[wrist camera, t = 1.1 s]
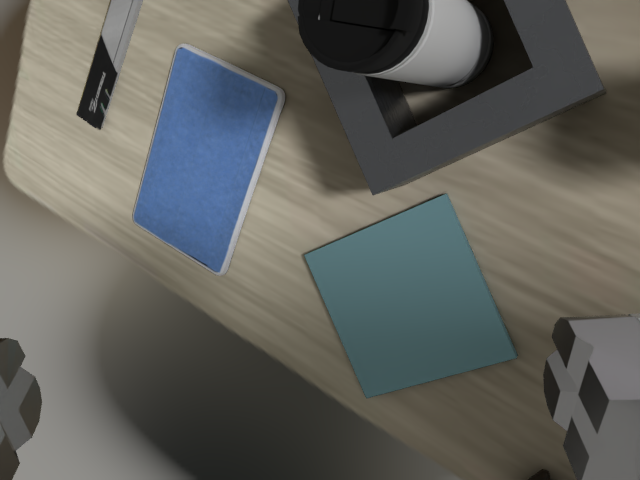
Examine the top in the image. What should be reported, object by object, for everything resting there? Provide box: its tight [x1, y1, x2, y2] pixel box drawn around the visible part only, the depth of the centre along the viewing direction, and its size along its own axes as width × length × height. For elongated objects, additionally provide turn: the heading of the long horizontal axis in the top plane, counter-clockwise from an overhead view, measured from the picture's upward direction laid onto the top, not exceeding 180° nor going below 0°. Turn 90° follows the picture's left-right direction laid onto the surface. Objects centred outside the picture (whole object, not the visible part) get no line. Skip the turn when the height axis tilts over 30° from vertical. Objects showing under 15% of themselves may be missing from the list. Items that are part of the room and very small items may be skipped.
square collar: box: [288, 0, 606, 195], centre depth 42 cm, size 16×16×7 cm
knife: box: [77, 0, 143, 129], centre depth 60 cm, size 15×1×4 cm
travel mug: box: [298, 0, 493, 88], centre depth 36 cm, size 6×7×20 cm
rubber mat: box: [304, 194, 518, 398], centre depth 50 cm, size 14×14×1 cm
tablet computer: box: [133, 43, 285, 275], centre depth 57 cm, size 19×13×1 cm, turn 157°
